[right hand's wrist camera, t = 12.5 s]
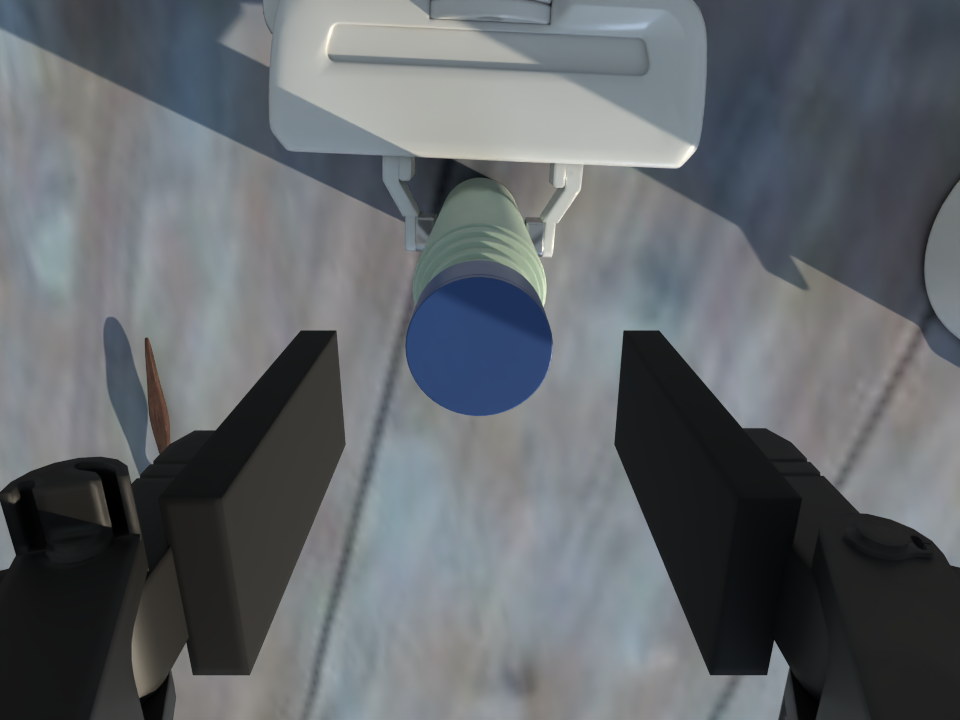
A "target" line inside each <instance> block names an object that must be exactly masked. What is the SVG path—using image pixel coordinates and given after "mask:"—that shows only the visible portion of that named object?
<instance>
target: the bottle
mask: <svg viewBox="0 0 960 720" xmlns="http://www.w3.org/2000/svg"><path fill="white" fill-rule="evenodd" d="M472 260H485V261H493V262H497V263H500V264H503V265H506V266H508V267H510V268H512V269H514V270H516V271H517V272H518V273H520V274H521V275H522V276H524V277H525V278H526V279H527V280H528V281H529V282H530V284H531V285H532V286H533V287H534V289H535V290H536V292H537V294H538V295H539V298H540V300H541V302H542V305H543V307H544V303H545V298H546V278H545V273H544V269H543V266H542V264H541V261H540V259H539V257H538V254H537V252H536V250H535V247H534V245H533V243H532V240H531V238H530V236H529V233H528V231H527V229H526V226H525V224H524V222H523V219H522V217H521V215H520V212H519V210H518V208H517V205H516V203H515V200H514V198H513V197H512V195H511V193H510V192H509V191H508V190H507V189H506V188H505V187H504V186H503V185H501V184H500V183H498V182H496V181H494V180H492V179H488V178H472V179H468V180H466V181H463V182H461V183H460V184H458V185H457V186H456V187H455V188H453V190H452V191H451V192H450V193H449V195H448V196H447V198H446V200H445V202H444V204H443V207H442V209H441V211H440V213H439V216H438V218H437V220H436V222H435V225H434V227H433V229H432V231H431V234H430V236H429V238H428V241H427V243H426V245H425V247H424V250H423V252H422V254H421V256H420V259H419V261H418V263H417V266H416V269H415V273H414V278H413V298H414V303H415V307H416V304H417V301H418V299H419V297H420V295H421V293H422V291H423V290H424V288H425V287H426V285H427V284H428V283H429V282H430V281H431V280H432V279H433V278H434V277H435V276H436V275H438V274H439V273H440V272H442V271H443V270H445V269H446V268H448V267H451V266H453V265H455V264H458V263H462V262H466V261H472Z"/></svg>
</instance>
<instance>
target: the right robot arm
mask: <svg viewBox="0 0 960 720" xmlns="http://www.w3.org/2000/svg"><path fill="white" fill-rule="evenodd" d="M345 445H346V444H345V432H344V419H343V407H342V394H341V382H340V369H339V357H338V345H337V332H336V331H300V332H299V333H298V335H297V336H296V337H295V338H294V339H293V341H292V342H291V343H290V344H289V345H288V346H287V348H286V349H285V350H284V351H283V352H282V353H281V355H280V356H279V357H278V358H277V359H276V360H275V362H274V363H273V364H272V365H271V366H270V367H269V369H268V370H267V371H266V372H265V373H264V375H263V376H262V377H261V378H260V379H259V380H258V382H257V383H256V384H255V385H254V386H253V387H252V389H251V390H250V391H249V392H248V393H247V394H246V396H245V397H244V398H243V399H242V400H241V401H240V403H239V404H238V405H237V406H236V407H235V409H234V410H233V411H232V412H231V413H230V414H229V416H228V417H227V418H226V419H225V420H224V421H223V423H222V424H221V425H220V426H219V427H218V428H217V430H216V431H193V432H191V433H189V434H188V435H186V436H184V437H182V438H180V439H179V440H177V441H175V442H173V443H171V444H170V445H168V447H167V448H166V449H165V450H164V451H163V452H162V453H161V454H160V455H159V456H158V457H157V458H156V459H155V460H154V463H153V464H150V465H149V466H148V467H147V468H146V469H145V470H144V472H143V473H142V474H141V475H140V478H137V479H136V480H135V481H134V482H133V483H132V484H131V480H130V476H129V471H128V466H127V465H125V464H124V463H122V462H121V461H119V460H117V459H111V458H105V457H87V458H76V459H71V460H66V461H62V462H57V463H53V464H50V465H47V466H44V467H42V468H39V469H36V470H33V471H30V472H29V473H27V474H25V475H23V476H21V477H19V478H18V479H16V480H14V481H12V482H10V483H9V484H8V485H7V486H6V487H5V488H4V489H3V490H2V491H1V492H0V502H1V506H2V509H3V513H4V516H5V519H6V523H7V526H8V529H9V533H10V536H11V539H12V543H13V546H14V550H15V553H16V557H15V558H14V560H13V562H12V564H11V566H10V568H9V569H6V570H1V571H0V720H173V715H174V708H175V701H176V694H175V687H174V682H173V677H172V672H171V668H172V666H173V665H174V663H175V661H176V659H177V658H178V656H179V654H180V652H181V650H182V649H183V647H184V645H185V643H187V648H188V653H189V658H190V663H191V668H192V673H193V675H250V673H251V671H252V669H253V666H254V664H255V661H256V659H257V657H258V654H259V652H260V649H261V647H262V644H263V642H264V640H265V637H266V635H267V632H268V630H269V628H270V625H271V623H272V620H273V618H274V616H275V613H276V611H277V608H278V606H279V604H280V601H281V599H282V596H283V594H284V592H285V589H286V587H287V584H288V582H289V579H290V577H291V575H292V572H293V570H294V567H295V565H296V563H297V560H298V558H299V555H300V553H301V551H302V548H303V546H304V543H305V541H306V539H307V536H308V534H309V531H310V529H311V526H312V524H313V522H314V519H315V517H316V514H317V512H318V510H319V507H320V505H321V502H322V500H323V498H324V495H325V493H326V490H327V488H328V486H329V483H330V481H331V478H332V476H333V473H334V471H335V469H336V466H337V464H338V461H339V459H340V457H341V454H342V452H343V449H344V447H345ZM614 445H615V447H616V449H617V452H618V454H619V457H620V459H621V461H622V464H623V466H624V469H625V471H626V473H627V476H628V478H629V481H630V483H631V486H632V488H633V490H634V493H635V495H636V498H637V500H638V502H639V505H640V507H641V510H642V512H643V514H644V517H645V519H646V522H647V524H648V526H649V529H650V531H651V534H652V536H653V539H654V541H655V543H656V546H657V548H658V551H659V553H660V555H661V558H662V560H663V563H664V565H665V567H666V570H667V572H668V575H669V577H670V579H671V582H672V584H673V587H674V589H675V592H676V594H677V596H678V599H679V601H680V604H681V606H682V608H683V611H684V613H685V616H686V618H687V620H688V623H689V625H690V628H691V630H692V632H693V635H694V637H695V640H696V642H697V645H698V647H699V649H700V652H701V654H702V657H703V659H704V661H705V664H706V666H707V669H708V671H709V673H710V675H767V673H768V668H769V663H770V658H771V653H772V648H773V643H774V640H775V642H776V644H777V645H778V647H779V649H780V651H781V652H782V654H783V656H784V658H785V659H786V661H787V663H788V665H789V666H790V668H789V672H788V677H787V682H786V686H785V691H784V696H783V700H782V705H781V710H780V714H779V719H778V720H960V568H959V567H955V566H951V565H950V564H949V563H948V561H947V559H946V557H945V555H944V554H943V553H942V552H941V551H940V549H939V548H938V547H937V546H936V545H935V544H934V543H933V542H932V541H931V540H930V539H928V538H926V537H925V536H923V535H922V534H920V533H919V532H917V531H916V530H914V529H912V528H910V527H907V526H905V525H903V524H900V523H898V522H895V521H893V520H890V519H886V518H882V517H878V516H874V515H870V514H860V513H859V512H858V511H857V510H856V509H855V508H854V507H853V506H852V505H851V504H850V503H849V502H848V501H847V500H846V499H845V498H844V497H843V496H842V494H841V493H840V492H839V491H838V490H837V489H836V488H835V487H834V486H833V485H832V484H831V483H830V482H829V481H828V480H827V479H826V478H825V477H824V476H820V472H819V471H818V470H817V469H816V468H815V467H814V466H813V465H812V463H811V462H807V458H806V457H805V456H804V455H803V454H802V453H801V452H800V451H799V450H798V449H797V448H796V447H795V446H794V445H793V444H792V443H791V442H789V441H788V440H786V439H784V438H782V437H780V436H779V435H777V434H775V433H773V432H771V431H769V430H768V429H766V428H742V427H741V426H740V425H739V424H738V423H737V421H736V420H735V419H734V418H733V417H732V416H731V414H730V413H729V412H728V411H727V410H726V409H725V407H724V406H723V405H722V404H721V403H720V401H719V400H718V399H717V398H716V397H715V396H714V394H713V393H712V392H711V391H710V390H709V389H708V387H707V386H706V385H705V384H704V383H703V382H702V380H701V379H700V378H699V377H698V376H697V375H696V373H695V372H694V371H693V370H692V369H691V367H690V366H689V365H688V364H687V363H686V362H685V360H684V359H683V358H682V357H681V356H680V355H679V353H678V352H677V351H676V350H675V349H674V348H673V346H672V345H671V344H670V343H669V342H668V341H667V339H666V338H665V337H664V336H663V335H662V333H661V332H660V331H624V332H623V345H622V357H621V369H620V382H619V394H618V407H617V419H616V432H615V444H614Z"/></svg>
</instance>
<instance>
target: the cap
mask: <svg viewBox="0 0 960 720" xmlns="http://www.w3.org/2000/svg"><path fill="white" fill-rule="evenodd" d="M552 353H553V341H552V333H551V330H550V326H549V323H548V320H547V317H546V314H545V311H544V308H543V305H542V302H541V300H540V298H539V295H538V294H537V292H536V290H535V289H534V287H533V286H532V285H531V284H530V282H529V281H528V280H527V279H526V278H525V277H524V276H522V275H521V274H520V273H518V272H517V271H516V270H514V269H512V268H510V267H508V266H506V265H503V264H500V263H497V262H493V261H485V260H472V261H466V262H462V263H458V264H455V265H453V266H451V267H448V268H446V269H445V270H443V271H442V272H440V273H439V274H438V275H436V276H435V277H434V278H433V279H432V280H431V281H430V282H429V283H428V284H427V285H426V287H425V288H424V290H423V291H422V293H421V295H420V297H419V299H418V301H417V304H416V307H415V310H414V313H413V315H412V318H411V321H410V324H409V327H408V331H407V336H406V357H407V362H408V366H409V368H410V371H411V374H412V376H413V378H414V379H415V381H416V383H417V384H418V386H419V387H420V388H421V389H422V391H423V392H424V393H425V394H426V395H427V396H428V397H429V398H431V399H432V400H433V401H434V402H436V403H437V404H439V405H441V406H442V407H444V408H446V409H448V410H451V411H454V412H457V413H460V414H465V415H472V416H487V415H494V414H498V413H502V412H505V411H507V410H510V409H512V408H514V407H516V406H518V405H520V404H521V403H523V402H524V401H525V400H527V399H528V398H529V397H530V396H531V395H532V394H533V393H534V392H535V391H536V390H537V389H538V387H539V386H540V385H541V383H542V382H543V380H544V378H545V377H546V374H547V372H548V370H549V367H550V363H551V359H552Z"/></svg>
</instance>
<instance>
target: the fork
mask: <svg viewBox="0 0 960 720" xmlns="http://www.w3.org/2000/svg"><path fill="white" fill-rule="evenodd" d="M145 357H146V371H147V386H148V406H149V416H150V421H151V426H152V430H153V433H154V437H155V440H156V443H157V447H158V450H159V453H160V454H161V453H162V452H163V451H164V450H165V449H166V448H167V447H168V445H170V425H169V416H168V411H167V407H166V403H165V399H164V396H163V392H162V389H161V385H160V381H159V377H158V373H157V369H156V364H155V360H154V356H153V352H152V348H151V345H150V341H149V339H148V338H145Z"/></svg>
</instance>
